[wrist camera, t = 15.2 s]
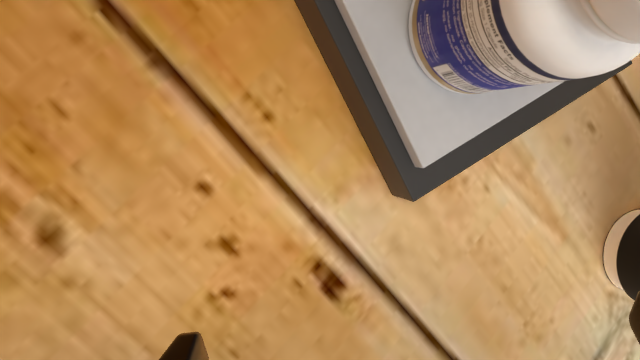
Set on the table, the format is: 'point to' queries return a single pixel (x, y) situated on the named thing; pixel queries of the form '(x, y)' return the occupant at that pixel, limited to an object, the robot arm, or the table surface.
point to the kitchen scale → (420, 96)
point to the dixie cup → (624, 253)
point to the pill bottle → (521, 41)
